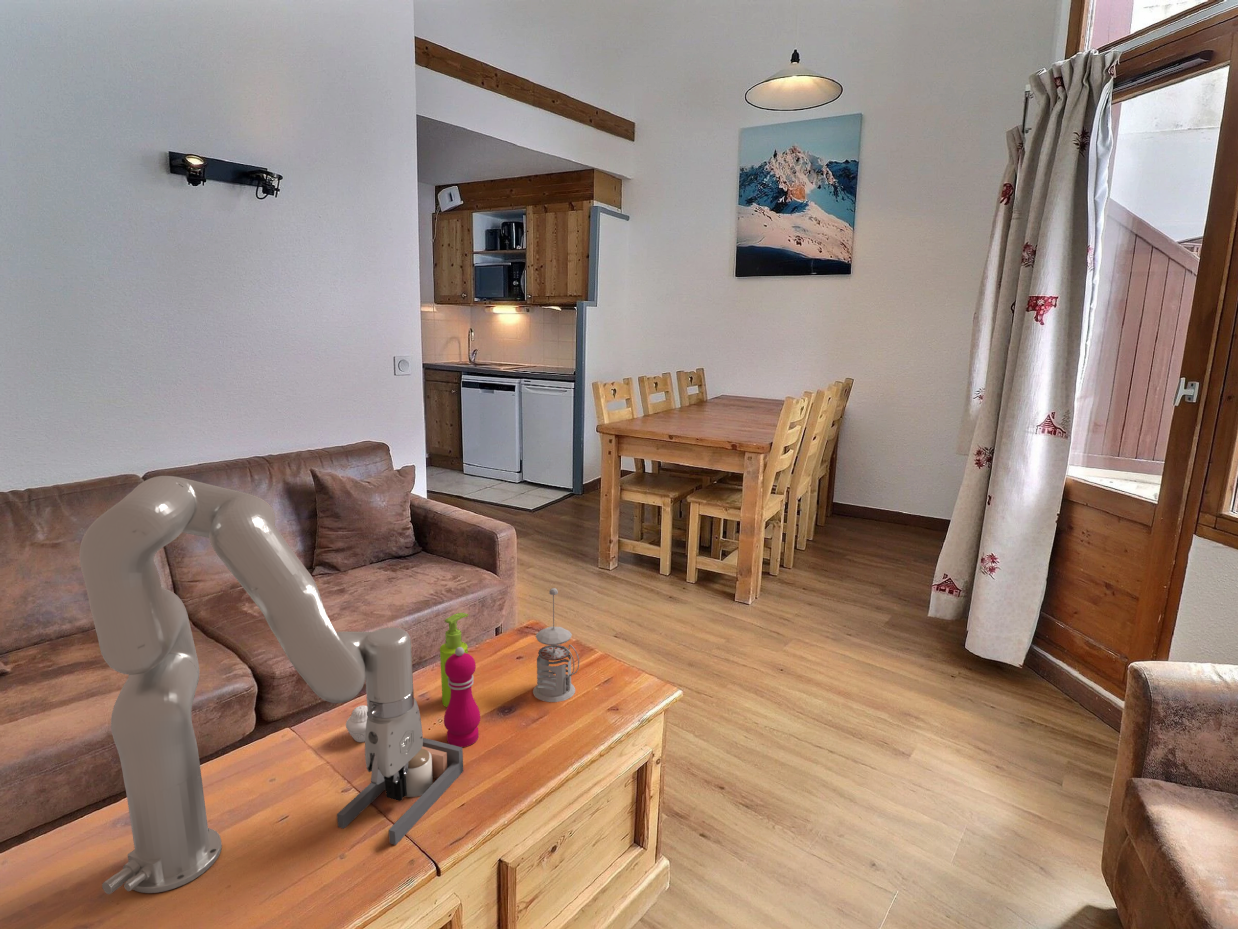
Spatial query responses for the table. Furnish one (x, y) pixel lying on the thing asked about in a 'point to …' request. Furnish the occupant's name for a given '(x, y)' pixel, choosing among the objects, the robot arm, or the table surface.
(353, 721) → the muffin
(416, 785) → the jar
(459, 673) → the pepper mill
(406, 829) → the frame
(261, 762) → the table surface
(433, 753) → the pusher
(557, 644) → the french press
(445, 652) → the soap dispenser
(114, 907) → the table surface
